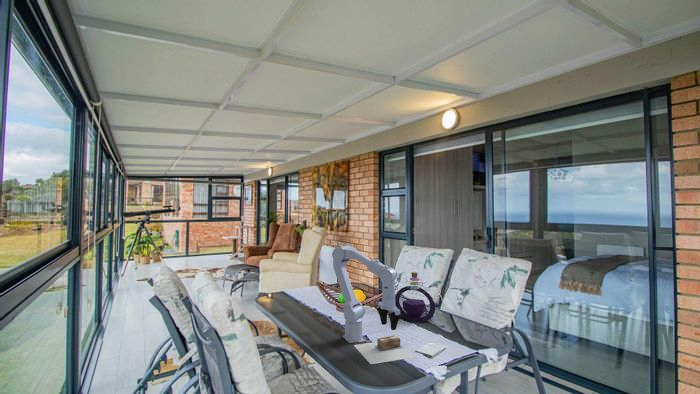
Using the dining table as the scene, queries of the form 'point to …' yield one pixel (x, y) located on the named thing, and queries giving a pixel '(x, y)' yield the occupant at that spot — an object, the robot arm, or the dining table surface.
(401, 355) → the mat
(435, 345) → the external hard drive
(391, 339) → the cardboard box
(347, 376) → the dining table surface
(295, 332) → the dining table surface
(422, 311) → the decorative bottle
